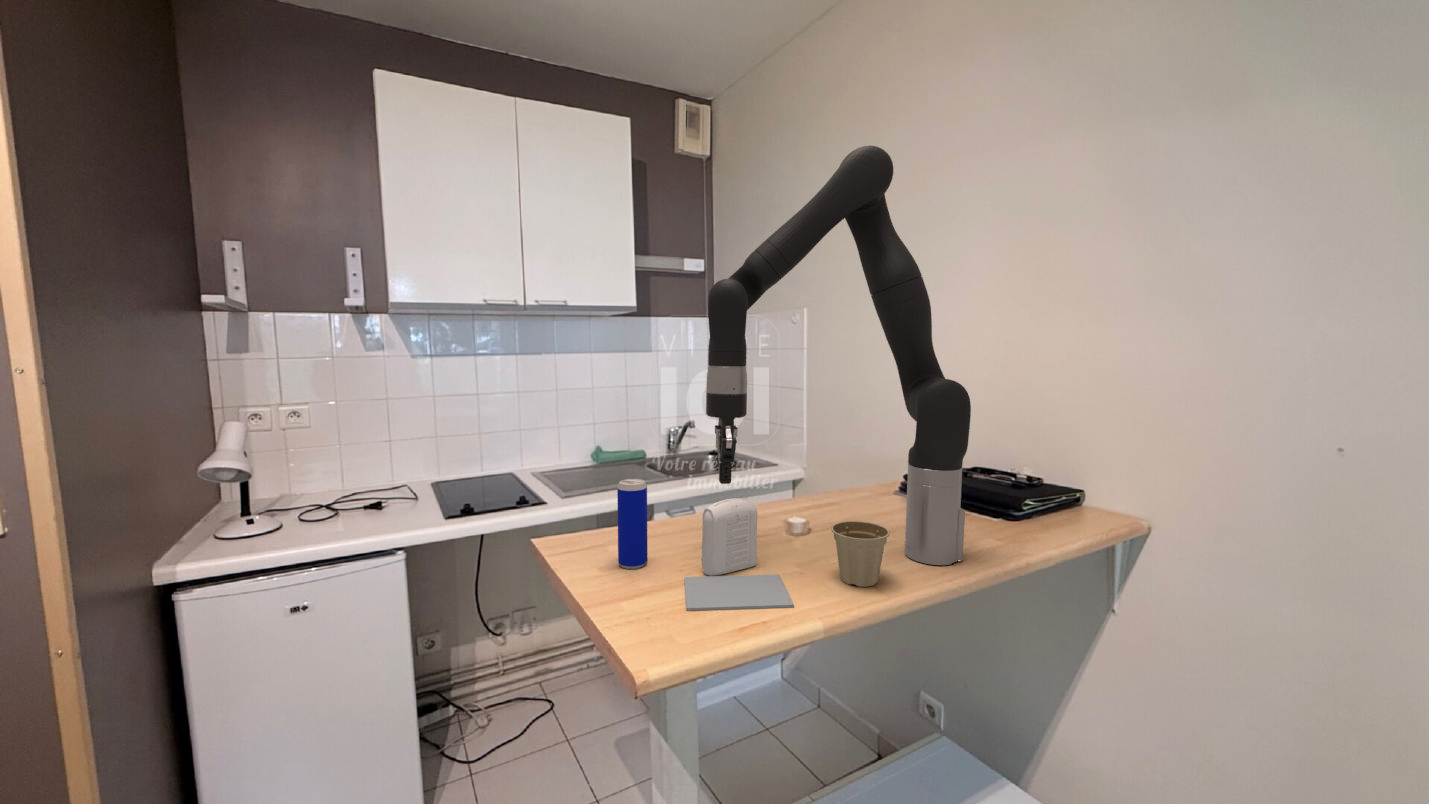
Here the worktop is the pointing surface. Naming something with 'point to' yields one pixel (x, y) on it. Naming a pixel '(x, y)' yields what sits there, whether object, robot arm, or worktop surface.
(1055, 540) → the worktop surface
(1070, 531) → the worktop surface
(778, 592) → the mat
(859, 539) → the flower pot
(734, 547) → the photo printer
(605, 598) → the worktop surface
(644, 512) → the beverage can
